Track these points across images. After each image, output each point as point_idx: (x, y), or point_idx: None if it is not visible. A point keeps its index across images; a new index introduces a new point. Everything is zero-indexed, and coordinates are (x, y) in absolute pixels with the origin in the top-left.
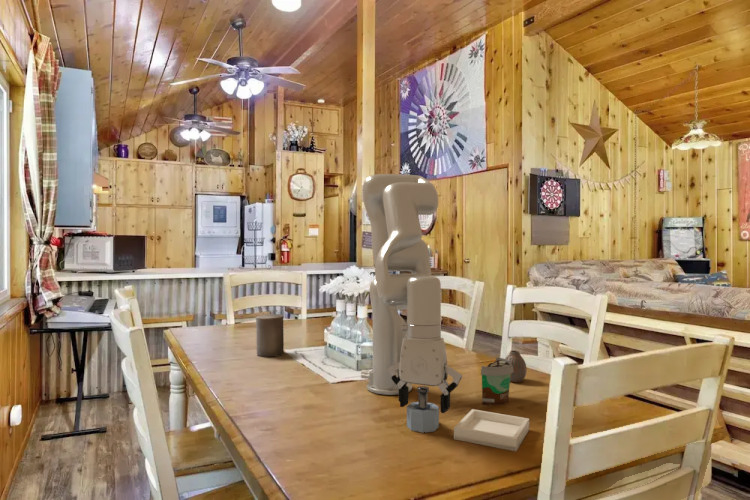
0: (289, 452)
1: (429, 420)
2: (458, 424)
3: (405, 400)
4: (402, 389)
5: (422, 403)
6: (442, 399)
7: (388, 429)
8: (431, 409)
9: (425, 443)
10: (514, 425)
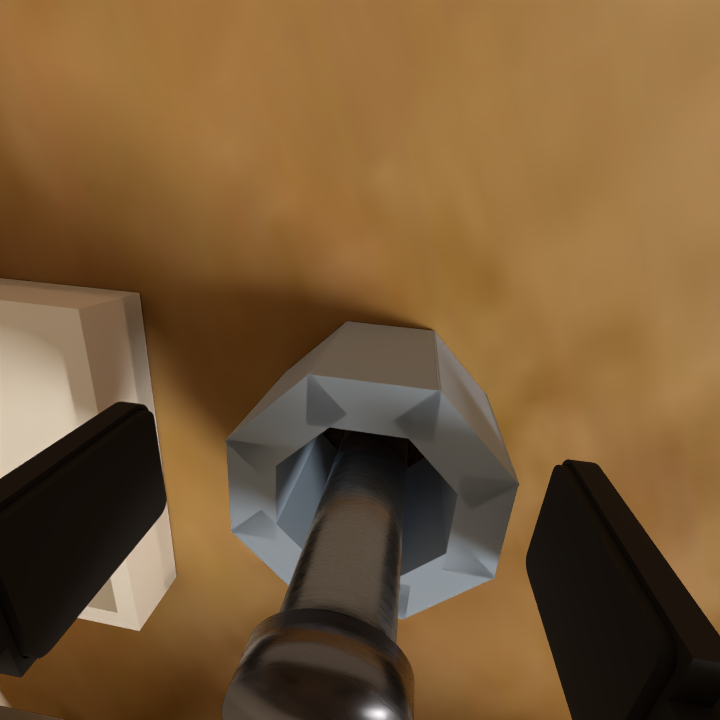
0: None
1: (288, 379)
2: (83, 378)
3: (558, 548)
4: (684, 671)
5: (343, 507)
6: (5, 482)
7: (611, 287)
8: (264, 466)
9: (265, 138)
10: None
